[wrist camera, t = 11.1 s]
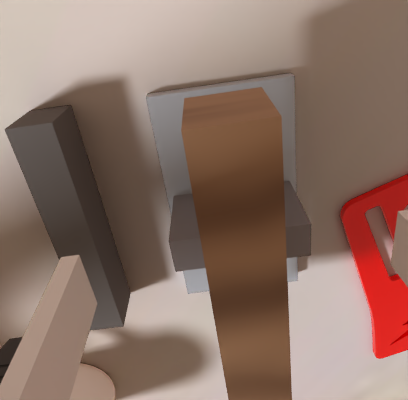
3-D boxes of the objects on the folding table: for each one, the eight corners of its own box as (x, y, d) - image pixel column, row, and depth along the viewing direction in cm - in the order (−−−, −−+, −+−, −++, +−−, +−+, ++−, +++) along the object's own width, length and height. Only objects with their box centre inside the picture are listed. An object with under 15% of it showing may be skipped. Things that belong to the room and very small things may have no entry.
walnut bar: (277, 347, 29) (292, 411, 24) (226, 352, 29) (231, 417, 25) (261, 87, 19) (281, 116, 15) (184, 98, 19) (181, 130, 15)
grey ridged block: (188, 286, 35) (186, 349, 29) (147, 93, 26) (133, 126, 20) (295, 273, 34) (316, 334, 28) (291, 72, 25) (321, 99, 19)
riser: (99, 296, 35) (88, 330, 32) (29, 110, 26) (4, 129, 23) (130, 293, 35) (123, 326, 32) (70, 104, 26) (51, 122, 23)
